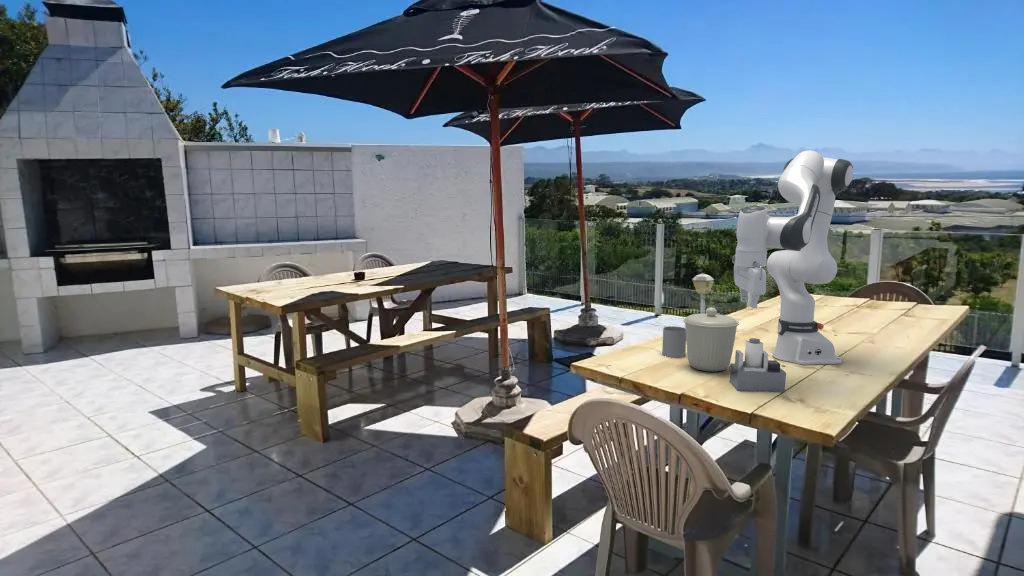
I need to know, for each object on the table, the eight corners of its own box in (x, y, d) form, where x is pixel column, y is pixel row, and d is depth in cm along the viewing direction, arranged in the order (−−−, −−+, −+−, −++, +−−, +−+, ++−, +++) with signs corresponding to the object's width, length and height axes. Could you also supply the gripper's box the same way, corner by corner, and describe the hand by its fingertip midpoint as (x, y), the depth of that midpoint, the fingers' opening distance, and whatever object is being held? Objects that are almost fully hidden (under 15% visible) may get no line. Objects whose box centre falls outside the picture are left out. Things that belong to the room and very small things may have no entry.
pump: (758, 365, 189) (760, 337, 187) (763, 370, 184) (765, 341, 182) (742, 365, 189) (743, 337, 188) (746, 369, 184) (748, 341, 183)
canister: (746, 368, 207) (750, 308, 204) (718, 378, 195) (722, 314, 192) (699, 358, 220) (702, 301, 217) (670, 367, 208) (673, 307, 205)
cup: (686, 358, 219) (687, 331, 218) (662, 357, 221) (663, 330, 219) (684, 352, 227) (685, 326, 226) (661, 351, 229) (662, 325, 228)
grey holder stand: (774, 382, 191) (777, 349, 189) (784, 392, 182) (787, 356, 180) (729, 381, 192) (731, 348, 190) (737, 390, 183) (739, 355, 182)
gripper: (773, 264, 174) (770, 311, 176) (751, 256, 194) (749, 298, 196) (750, 264, 174) (748, 311, 176) (730, 256, 194) (729, 298, 197)
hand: (748, 304), depth 186 cm, fingers open, 8 cm apart
